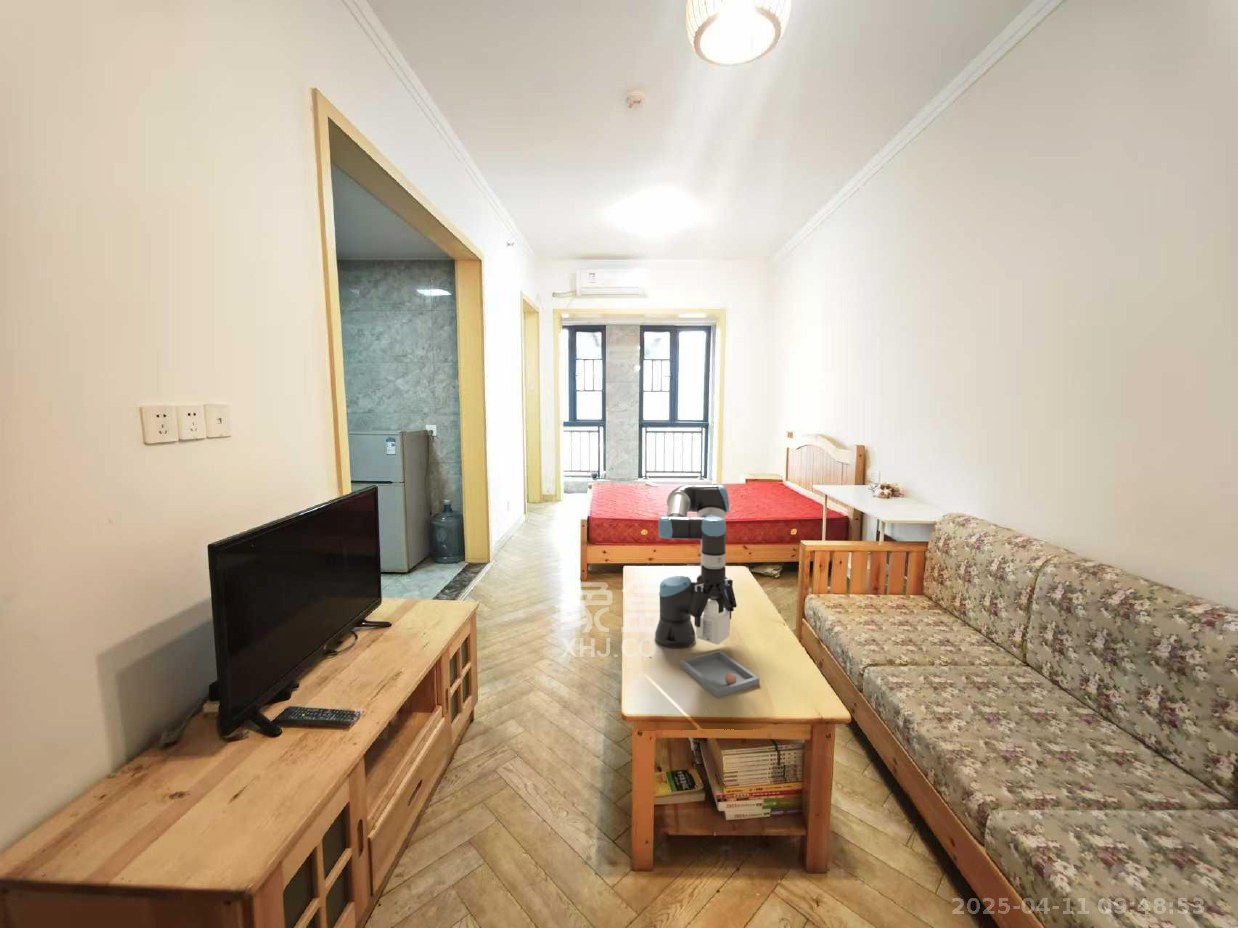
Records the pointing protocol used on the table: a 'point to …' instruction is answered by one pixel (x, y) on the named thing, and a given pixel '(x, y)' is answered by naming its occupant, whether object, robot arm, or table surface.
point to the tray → (719, 673)
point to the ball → (730, 678)
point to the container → (715, 621)
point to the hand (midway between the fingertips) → (713, 632)
